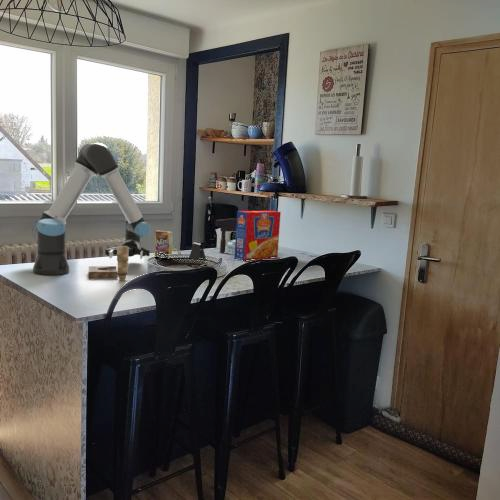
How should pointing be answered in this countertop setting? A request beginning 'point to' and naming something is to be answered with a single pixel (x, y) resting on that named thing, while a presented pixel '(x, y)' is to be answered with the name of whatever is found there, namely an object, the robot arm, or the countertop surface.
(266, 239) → the pasta box
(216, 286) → the countertop surface
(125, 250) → the leg
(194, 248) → the door stopper
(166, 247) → the candy box
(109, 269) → the board
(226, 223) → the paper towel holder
